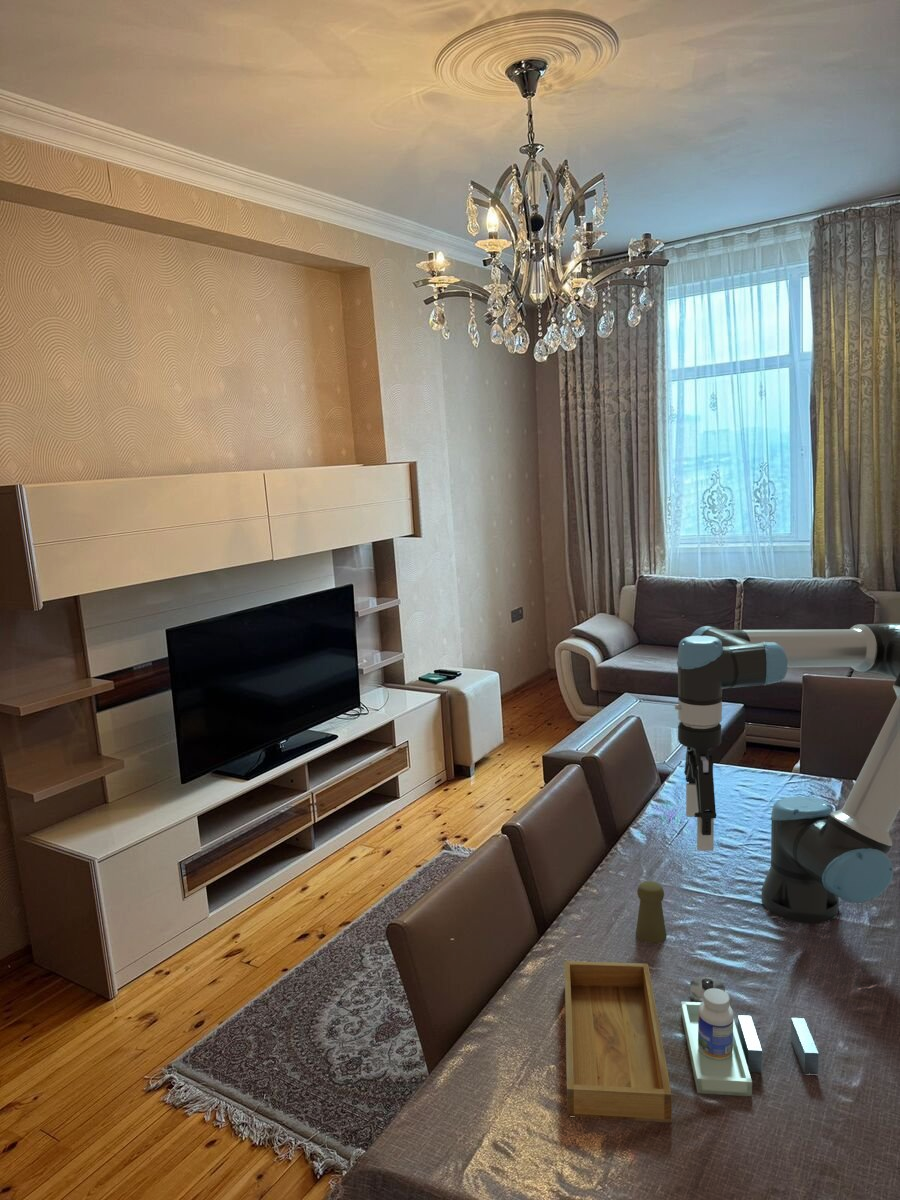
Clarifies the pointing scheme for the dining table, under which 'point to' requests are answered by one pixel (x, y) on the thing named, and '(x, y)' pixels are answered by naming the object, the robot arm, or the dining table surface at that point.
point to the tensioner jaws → (799, 1039)
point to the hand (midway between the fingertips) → (699, 832)
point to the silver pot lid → (703, 987)
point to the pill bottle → (715, 1025)
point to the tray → (614, 1044)
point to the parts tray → (715, 1061)
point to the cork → (650, 913)
